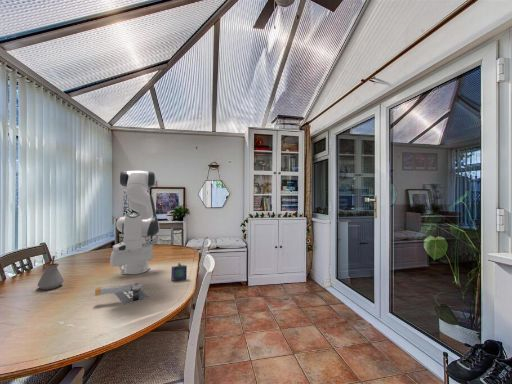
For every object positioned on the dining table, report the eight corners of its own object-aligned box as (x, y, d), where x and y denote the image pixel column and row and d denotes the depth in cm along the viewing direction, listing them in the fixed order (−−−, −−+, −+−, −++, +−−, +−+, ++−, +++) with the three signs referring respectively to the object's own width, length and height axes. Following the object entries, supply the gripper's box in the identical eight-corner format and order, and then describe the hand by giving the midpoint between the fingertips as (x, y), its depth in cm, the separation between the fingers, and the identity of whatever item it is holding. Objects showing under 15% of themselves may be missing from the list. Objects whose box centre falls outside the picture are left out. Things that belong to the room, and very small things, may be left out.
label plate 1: (122, 291, 131) (122, 291, 131) (131, 289, 134) (131, 288, 134) (125, 294, 127) (125, 294, 127) (134, 292, 130) (134, 291, 130)
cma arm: (94, 296, 114) (94, 290, 114) (97, 292, 118) (97, 287, 118) (140, 291, 120) (140, 285, 120) (141, 288, 125) (141, 282, 125)
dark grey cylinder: (132, 299, 122) (132, 290, 122) (137, 297, 124) (138, 288, 124) (133, 301, 120) (134, 291, 120) (139, 299, 122) (140, 290, 122)
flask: (171, 281, 150) (171, 264, 150) (171, 280, 153) (171, 263, 153) (186, 280, 153) (186, 263, 153) (186, 278, 155) (186, 261, 156)
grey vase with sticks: (62, 288, 137) (63, 261, 137) (35, 292, 131) (36, 265, 131) (65, 277, 155) (65, 254, 155) (41, 281, 148) (42, 256, 148)
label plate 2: (126, 295, 126) (126, 294, 126) (135, 293, 129) (135, 292, 129) (129, 298, 122) (129, 298, 122) (138, 296, 125) (138, 295, 125)
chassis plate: (114, 294, 129) (114, 293, 129) (137, 289, 137) (137, 287, 137) (124, 306, 116) (124, 304, 116) (149, 299, 124) (149, 297, 124)
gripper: (150, 241, 136) (150, 266, 135) (109, 246, 121) (108, 274, 121) (155, 243, 131) (154, 268, 131) (112, 248, 117) (112, 277, 117)
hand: (132, 271), depth 126 cm, fingers open, 8 cm apart
